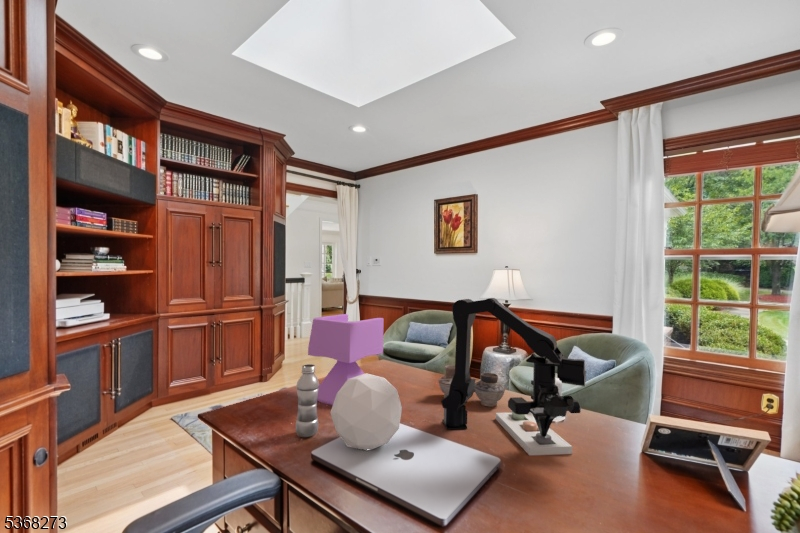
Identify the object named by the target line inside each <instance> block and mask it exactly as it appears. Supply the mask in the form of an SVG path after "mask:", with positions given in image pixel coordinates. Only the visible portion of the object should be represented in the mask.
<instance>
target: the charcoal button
mask: <svg viewBox="0 0 800 533" xmlns="http://www.w3.org/2000/svg"><path fill="white" fill-rule="evenodd" d="M536 442H537V443H538V444H539V445H547V444H551V436H550V435H548V434H546V437H543V436H541V434H540V433H537V434H536Z"/></svg>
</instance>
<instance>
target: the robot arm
mask: <svg viewBox="0 0 800 533" xmlns="http://www.w3.org/2000/svg"><path fill="white" fill-rule="evenodd" d="M478 313H489V314H491V315H492V316H493V317H495V318H496V319H498V321H500V322H501V323H502V324H504V325H505V326H506V327H507V328H509V329H510V330H512V331H513V332H514V333H515V334H517V335H518V336H519V337H520V338H521V339H523V341H524V342H525V344H526V345H527V347H528V348H530V349H531V350H532V352H533V353H531V354H530V356H529V357H528V358H526V360H525V362H526V363H532V364H533V370H532V371H533V378H532V379H533V380H530V384H531V385H532V394H531V395H530V399H531V400H532V401H531V400H530V401H527V400H526V399H525V398H523V397H521V396H520V397H518V396H517V397H509V399H508V400H507V407H508V409H510V410H511V412H512V411H513V412H514V413H515V414H518V415H522V414H528V413H529V412H531V413H532V414H533V416H534V418H535V421H536V423H537V426H538V428H539V431H540V434H541V436H543V437H546V434H547V432H548V430H549V428H550V427H551V424H552V423H553V421H554V420H555V418H559V417H566V415H567V412H568V413H570V414H581V413H582V412H581V411H582V410H581V408H582V406H581V404H580V402H579V401H577V400H576V399H574V398H573V397H572V395H562V396H560V395H559V392H558V386H556V385H555V378H559V380H560V381H561V382H562V384H568V385H573V386H578V387H586V380H587V378H586V376H587V371H586V364H585V359H581V358H580V359H579V358H577V359H574V358H567V357H565V355H564V354H563V352H562V351H561V349H559V347H558V342H557V339H556V338H555V336H554V335H552V334H550V333H548V332H546V331H544V330H542V329H540V328H537V327H535V326H533V325H531V324H529V323H528V322H527V321H525V320H524V319H523V318H521V317H520V316H518V314H516V313H514V312H513V311H512V310H510V309H509V308H508V307H507V306H505V305H504V304H502V303H501V302H500V301H499V300H498V299H497V298H495V297H489V298H486V299H481V300H475V301H474V300H472V299H470V298H464V299H458V300H456V301H455V302H454V303H453V304H452V320H453V321H454V324H455V328H456V330H455V331H456V332H455V334H456V335H455V357H454V358H455V359H454V365H455V373H454V376H453V379H452V381H451V384H450V389H449V395H448V396H447V397H445V398H444V397H443V399H441V401H440V403H441V406H442V408H443V419H442V423H443V425H444V427H445V428H446V430H465V429H466V430H467V429H468V426H467V424H468V410H467V406H466V405H465V404H467V402H468V400H470V399H471V398H472V397H473V394H474V393H475V383H476V378H472V377H471V374H470V366H471V365H470V363H471V343H472V342H471V339H472V327H473V324H474V322H475V319H476V315H477V314H478ZM556 367H557V368H556ZM556 371H557V372H556ZM556 375H557V377H556Z"/></svg>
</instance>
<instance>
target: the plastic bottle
mask: <svg viewBox="0 0 800 533" xmlns="http://www.w3.org/2000/svg"><path fill="white" fill-rule="evenodd" d="M315 373H316V366H315V364H310V363H309V364H303V365H302V366H301V376H299V379H298V380H297V383H296V395H297V416H296V422H295V426H294V427H295V433H296V434H297V436H298V437H300V438H311V437H312V436H315V435H316V434H317V432H318V431H319V430H318V429H319V426H320V424H319V418H318V407H317V406H318V401H317V396H318V389H319V385H320V381H319V379H318V377H317V376H316V374H315Z"/></svg>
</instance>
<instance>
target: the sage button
mask: <svg viewBox="0 0 800 533" xmlns="http://www.w3.org/2000/svg"><path fill="white" fill-rule="evenodd" d="M511 413H512V419H513V420H514V421H520V420H525V414H522V415H518V414H515V413H514V412H513V411H512V410H511Z"/></svg>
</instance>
